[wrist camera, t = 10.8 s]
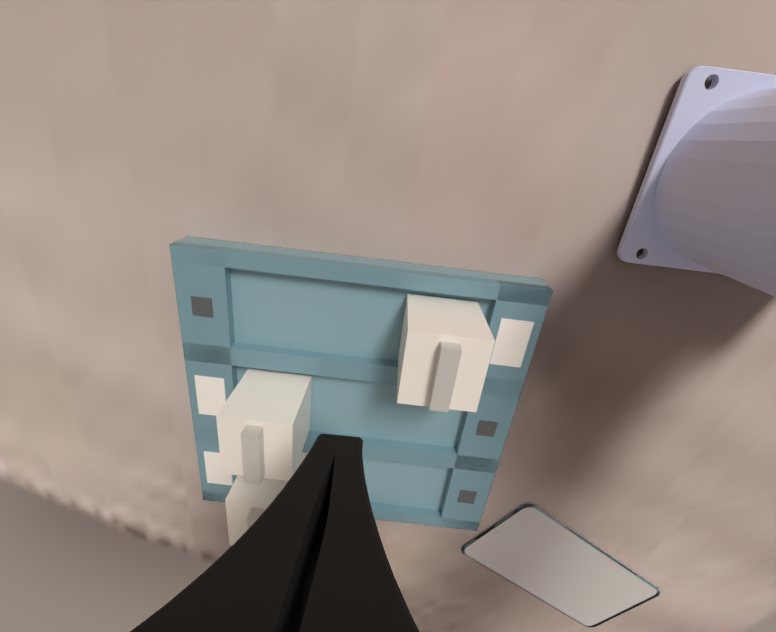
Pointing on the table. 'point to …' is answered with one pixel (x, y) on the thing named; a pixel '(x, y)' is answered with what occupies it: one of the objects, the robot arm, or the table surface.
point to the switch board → (353, 364)
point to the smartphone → (559, 566)
